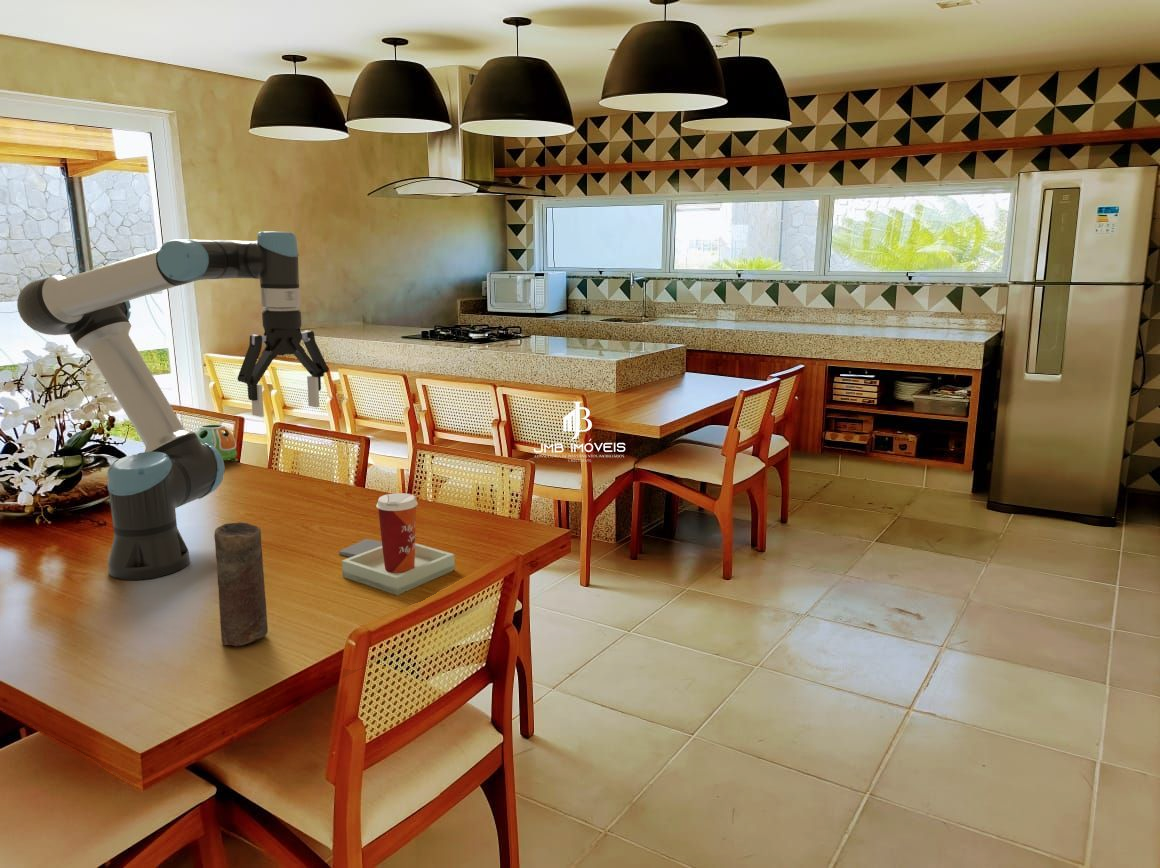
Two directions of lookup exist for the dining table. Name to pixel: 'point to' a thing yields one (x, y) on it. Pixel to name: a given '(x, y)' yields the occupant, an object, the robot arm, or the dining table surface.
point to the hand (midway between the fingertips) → (286, 411)
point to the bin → (373, 573)
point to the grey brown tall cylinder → (240, 583)
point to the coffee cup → (398, 531)
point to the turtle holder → (218, 440)
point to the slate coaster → (360, 547)
